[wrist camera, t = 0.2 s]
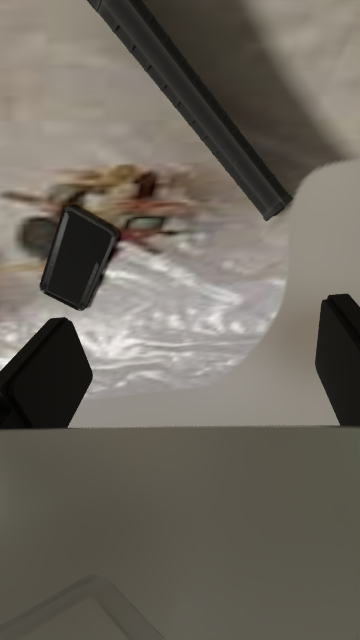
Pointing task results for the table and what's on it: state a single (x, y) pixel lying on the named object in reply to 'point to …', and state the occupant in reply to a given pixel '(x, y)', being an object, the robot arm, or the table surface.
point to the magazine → (193, 101)
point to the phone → (76, 258)
